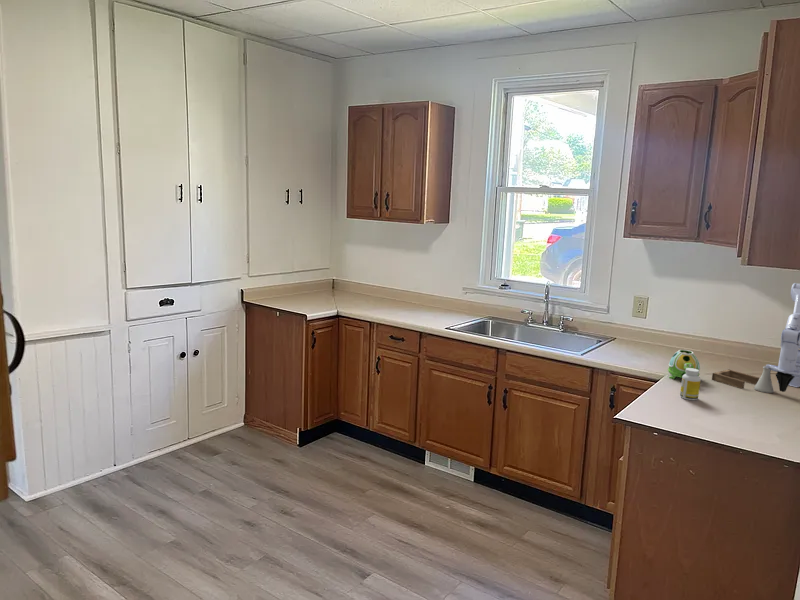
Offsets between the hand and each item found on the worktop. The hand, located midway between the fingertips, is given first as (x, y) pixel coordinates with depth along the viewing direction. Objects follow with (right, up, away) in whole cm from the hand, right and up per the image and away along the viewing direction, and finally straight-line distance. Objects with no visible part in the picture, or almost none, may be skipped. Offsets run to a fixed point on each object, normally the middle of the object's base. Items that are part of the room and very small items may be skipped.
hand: (782, 391), depth 239 cm
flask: (-4, -1, +6) cm, 7 cm away
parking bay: (-10, +1, +16) cm, 19 cm away
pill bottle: (-42, -2, -7) cm, 42 cm away
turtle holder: (-32, +2, +18) cm, 36 cm away
